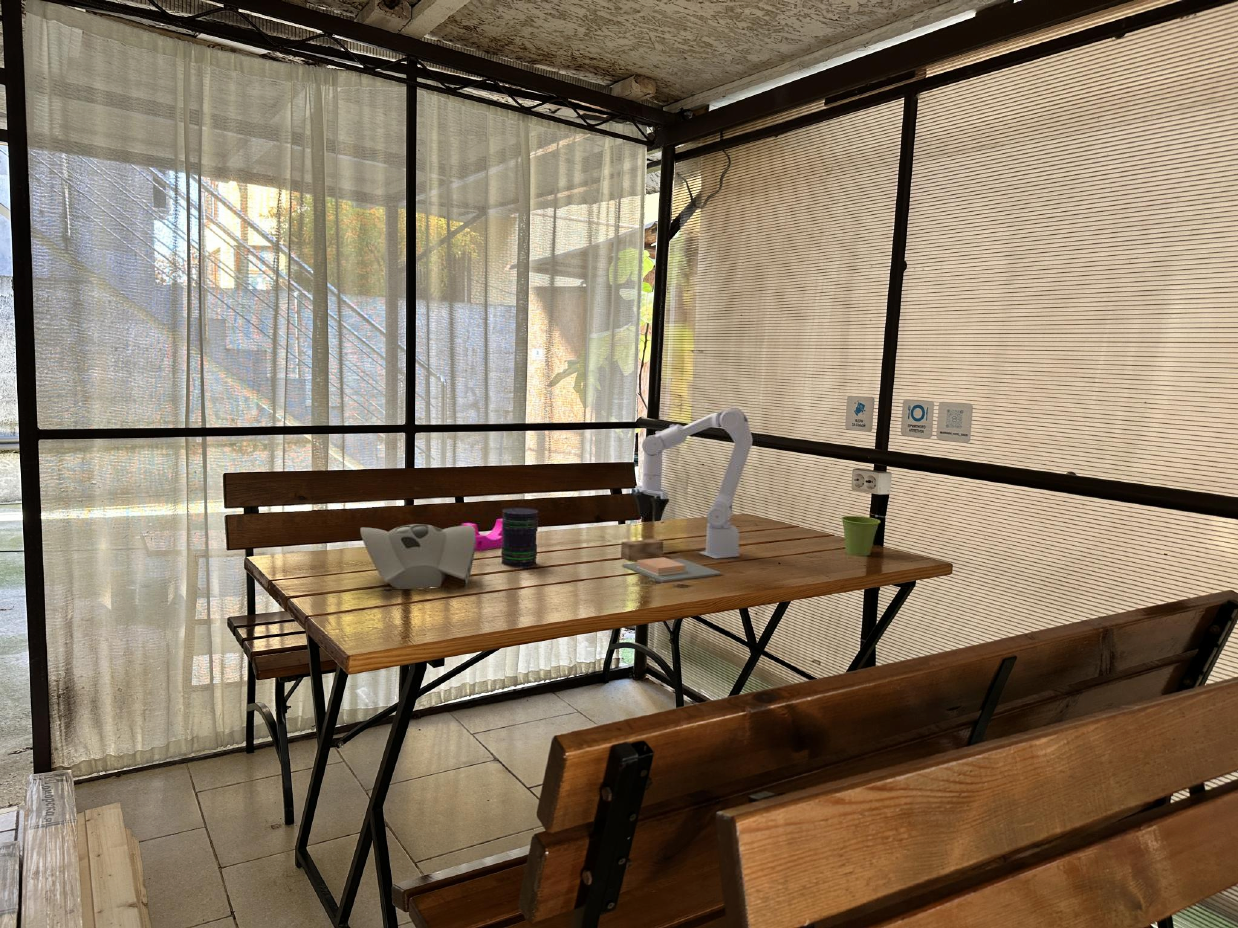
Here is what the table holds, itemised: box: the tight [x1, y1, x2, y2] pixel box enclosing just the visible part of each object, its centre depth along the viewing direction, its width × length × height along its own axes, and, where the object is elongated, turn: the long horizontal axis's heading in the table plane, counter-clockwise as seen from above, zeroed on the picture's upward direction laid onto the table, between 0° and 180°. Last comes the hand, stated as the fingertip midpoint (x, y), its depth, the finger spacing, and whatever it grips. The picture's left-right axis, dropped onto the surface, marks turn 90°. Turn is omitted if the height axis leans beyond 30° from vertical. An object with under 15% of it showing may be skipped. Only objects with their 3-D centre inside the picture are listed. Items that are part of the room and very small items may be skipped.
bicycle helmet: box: [359, 523, 476, 590], centre depth 213 cm, size 28×25×16 cm
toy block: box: [461, 518, 503, 552], centre depth 257 cm, size 15×6×8 cm, turn 136°
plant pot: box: [840, 515, 881, 557], centre depth 267 cm, size 12×12×11 cm
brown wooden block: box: [620, 538, 664, 562], centre depth 251 cm, size 12×4×5 cm, turn 123°
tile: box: [636, 557, 685, 576], centre depth 234 cm, size 2×10×9 cm
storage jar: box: [500, 507, 539, 569], centre depth 236 cm, size 10×10×15 cm
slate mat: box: [622, 557, 723, 583], centre depth 236 cm, size 20×19×1 cm
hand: (650, 518), depth 262 cm, fingers open, 7 cm apart
